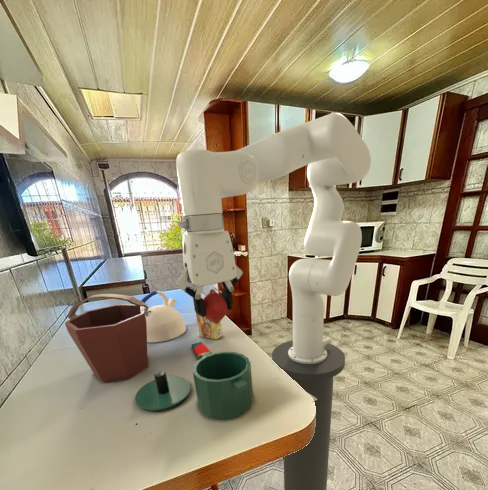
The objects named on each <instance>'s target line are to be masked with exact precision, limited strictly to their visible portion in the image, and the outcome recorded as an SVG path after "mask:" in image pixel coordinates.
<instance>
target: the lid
mask: <svg viewBox="0 0 488 490" xmlns="http://www.w3.org/2000/svg"><path fill="white" fill-rule="evenodd" d="M153 378H154V379H153V380H151V381H149V382H146V384H144V385H143V386H142V387H140V388H139V390H138V391H137V392H136V394H135V400H134V401H135V403H136V405H137V406H138V407H139V408H141V409H143V410H146V411H153V412H154V411H163V410H167V409H170V408H172V407H174V406H177V405H178V404H180V403H182V402H183V401H184V400H186V398H187V397H188V396H189V395H190V393H191V391H192V385H191V383H190V381H189V380H188V378H185V377H182V376H178V375H167V373H166V371H165V370H158V371H156V372H155V373H154V374H153Z"/></svg>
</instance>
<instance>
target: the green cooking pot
mask: <svg viewBox="0 0 488 490" xmlns="http://www.w3.org/2000/svg"><path fill="white" fill-rule="evenodd" d="M201 357H202V358H201V359H198V360H197V361H196V362H195V363H194V364H193V366H192V377H193V380H194V387H195V394H196V400H197V406H198V409H199V411H200V412H201V413H202V414H203V415H204V416H205V417H207V418H209V419H213V420H217V421H218V420H219V421H221V420H222V421H223V420H225V421H226V420H231V419H235V418H238V417H239V416H242V415H243V414H245V413H246V412H247V411H248V410H249V409H250V408H251V406H252V404H253V402H254V391H253V390H254V389H253V377H252V365H251V363H252V362H251V361H250V359H249V358H248V356H246V355H244V354H243V353H240V352H235V351H219V352H213V353H212V352H211V353H209V352H208V353H205V354H202V355H201Z"/></svg>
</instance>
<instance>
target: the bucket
mask: <svg viewBox="0 0 488 490" xmlns="http://www.w3.org/2000/svg"><path fill="white" fill-rule="evenodd" d="M94 299H112V300H120V301H125V302H128V303H117V304H112V305H108V306H102V307H99V308H94V309H89V310H86V311H83V312H81V313H80V314H76V313H77V311H78V309H79V307H80V306H81V305H84V303H86V302H88V301H89V300H94ZM149 308H150V307H149V306H148V304H147V303H146V302H145V303H144V302H142V301H141V300H140V299H138V298H136V297H135V296H133V295H126V294H119V293H118V294H116V293H97V294H93V295H91V296H88V297H86V298H85V299H82V300H80V301H79V302H77V303H76V304H74V305H73V306H72V307H71V308H70V310H69V311H68V313H67V318H68V320H67V321H65V322H64V325H65V327H66V330H67V332H68V335H69V336H70V338H71V339H72V340H73V342H74V344H75V346H76V347H77V349H78V350H79V352H80V353H81V355H82V357H83V359H84V360H85V361H86V363H87V365H88V367H89V368H90V370H91V371H92V373H93V375H94V376H96V377H97V379H99V380H100V381H101V382H102V383H107V382H115V381H123V380H128V379H130V378H133V377H134V376H135V375H137V374H138V373H141V372H142V371H144V370H146V369H147V368H148V367H149V365H148V342H147V326H146V313H147V311H148V309H149Z"/></svg>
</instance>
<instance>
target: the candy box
mask: <svg viewBox="0 0 488 490" xmlns="http://www.w3.org/2000/svg"><path fill="white" fill-rule="evenodd" d="M201 298H202V299H204V297H201ZM195 316H196V322H197V328H198V329H197V330H198V334H199V337H202V338H208V339H211V340H219V339H220V338H221V337H223V329H222V322H221V321H222V320H221V321H220V322H219V323H217V324H215V323H213V322H212V321H210V320H208V319H207V318H205V317H201V316H200V315H198V314H197V313H196V312H195Z"/></svg>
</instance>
